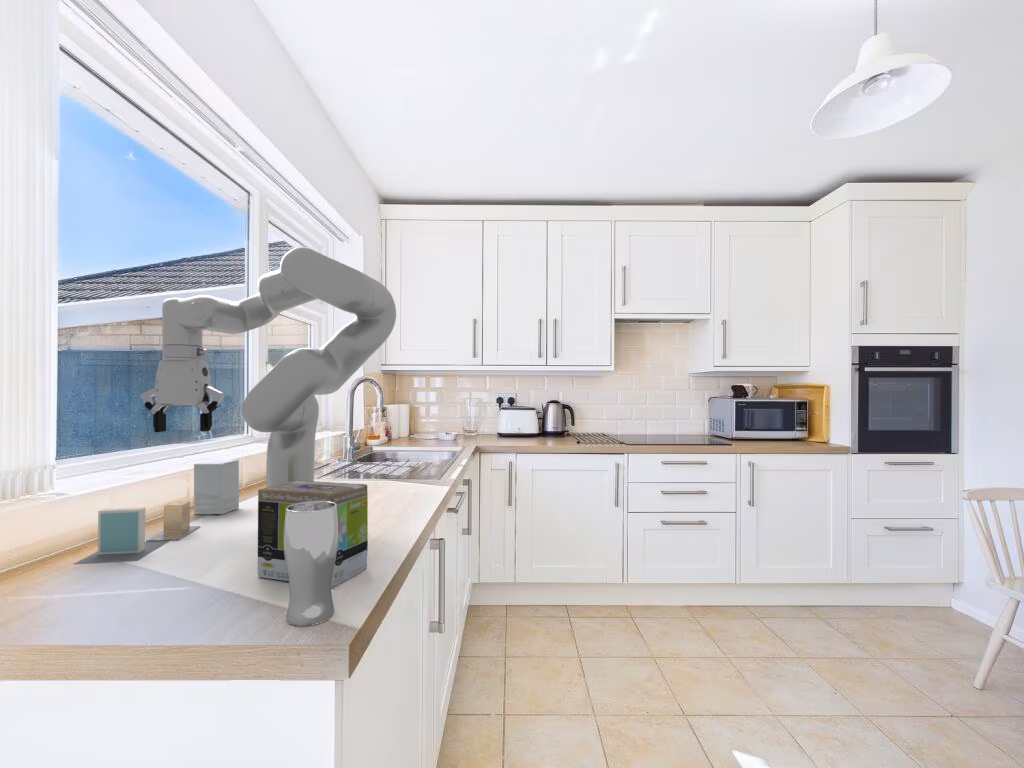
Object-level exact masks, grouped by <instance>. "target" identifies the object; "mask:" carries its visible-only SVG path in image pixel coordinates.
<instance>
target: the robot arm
mask: <svg viewBox="0 0 1024 768" xmlns="http://www.w3.org/2000/svg"><path fill="white" fill-rule="evenodd" d="M257 289H258V293H256V294H254V295H252V296H249V297H247V298H244V299H241V300H239V301H238V300H237V301H231V300H229V299H228V300H227V299H224V298H221V297H216V296H212V295H207V294H206V295H205V294H201V295H199V294H198V295H194V296H191V297H186V298H183V297H171V298H166V299H165V300H163V302H162V309H161V312H162V313H161V315H162V317H161V319H162V321H161V322H162V323H161V324H162V329H161V330H162V331H161V333H162V334H161V336H162V340H161V341H162V347H161V348H162V349H161V350H162V351H161V353H162V354H161V355H162V356H161V357H162V358H161V360H159V362H158V366H157V368H156V369H157V370H156V376H155V385H154V387H153V388H151V389H149V390H147V391H144V392H143V393H141V394H140V398H141V400H142V402H143V403H144V407H145V408H146V409H147V410H148V411H149V413H150V414H151V415H153V416H152V417H153V418H152V423H153V425H152V426H153V427H152V428H153V431H154V433H163V432H166V431H167V414H166V413H164V412H165V411H166V410H167V408H168V407H169V406H195V405H196V406H197V407H198V408H199V410H200V411H202V413H199V431H200V432H201V433H202V432H203V433H205V432H209V431H211V430H212V426H213V413H215V410H216V409H218V408H219V406H221V403H222V401H223V400H224V397H225V393H223V392H222V391H220V390H218V389H215V388H214V387H212V384H211V375H210V370H209V369H210V368H209V366H208V362H207V361H206V360H203V359H204V356H208V355H209V349H205V348H204V346H203V331H209V332H215V333H216V332H217V333H221V334H222V333H223V334H228V335H237V334H238V335H239V334H242V333H246V332H249V331H252V330H255V329H258V328H262V327H263V326H265V325H268V324H270V323H271V322H272V321H273V320H275V319H276V318H277V317H278V316H279V315H280V314H281V313H283V312H284V311H287V310H289V309H293V308H295V307H298V306H300V305H301V306H302V305H304V304H306V303H310V302H312V301H315V300H319V301H322V302H324V303H326V304H329V305H330V306H332V307H334V308H337V309H339V310H341V311H343V312H347V313H349V314H353V315H355V317H354V318H353V319H352V320H351V321H350V322H348V323H347V324H345V325H344V326H342V327H341V328H339V330H337V331H336V332H335V333H334V335H333V336H332V337H331V338H329V340H327V342H326V343H324V344H323V345H322V346H320V347H319V348H314V347H313V348H312V347H302V348H301V347H300V348H297V349H294V350H292V351H291V352H289V353H287V354H286V355H284V356H283V357H282V358H281V359H280V360H278V362H277V363H276V364H274V366H273V367H272V368H271V369H269V371H268V372H267V373H266V374H265V375H264V376H263V377H262V378H260V380H259V381H258V382H257V383H256V384H255V385H254V386H253V387H252V389H251V390H250V391H249V392H248V394H247V395H246V397H245V398H244V401H243V405H242V410H241V411H242V417H243V419H244V420H243V421H244V423H246V425H247V426H248V427H249V428H251V429H252V430H254V431H257V432H260V433H269V438H268V441H267V449H266V469H265V470H266V474H265V475H266V477H265V478H266V479H265V480H266V481H265V482H266V483H265V484H266V486H265V488H268V487H272V486H277V485H281V484H286V483H290V482H295V481H315V450H316V449H315V447H316V446H315V445H316V434H317V433H316V432H317V427H318V422H319V416H320V415H319V414H320V407H319V402H318V400H317V398H316V396H318V395H319V396H323V395H329V394H330V395H331V394H333V393H335V392H337V391H338V390H340V389H341V388H342V386H343V385H344V384H346V382H347V381H349V380H350V379H351V378H352V376H353V375H354V374H355V373H356V372H357V371H359V369H360V368H361V367H362V366H363V365H364V364H365V363H366V362H367V361H368V360H369V358H370V357H372V355H373V354H374V353H376V352H377V351H378V350H379V349H380V348H381V346H382V345H384V343H385V342H386V341H387V340H388V338H389V337H390V335H391V334H392V332H393V330H394V327H395V324H396V322H397V321H396V320H397V319H396V318H397V309H396V308H397V307H396V304H395V303H396V302H395V301H394V297H393V296H392V294H391V292H390V291H389V290H388V288H387V287H386V286H385V285H384V284H382V282H380V281H378V280H376V279H375V278H372V277H371V276H369V275H367V274H365V273H364V272H361V271H360V270H357V269H355V268H353V267H351V266H348V265H347V264H344V263H342V262H340V261H338V260H336V259H333V258H332V257H328V256H327V255H324V254H322V253H320V252H318V251H316V250H315V249H313V248H310V247H306V246H299V247H295V248H292V249H290V250H288V251H287V252H286V253H285V254H284V255H283V257H282V258H281V260H280V264H279V269H277V270H276V269H275V270H272V271H270V272H266V273H265V274H262V275H261V276H260V277H259V279H258V281H257ZM212 396H213V400H212ZM153 397H154V399H155V401H153Z"/></svg>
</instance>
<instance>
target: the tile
mask: <svg viewBox="0 0 1024 768" xmlns="http://www.w3.org/2000/svg"><path fill="white" fill-rule="evenodd" d="M145 542H146V507H126V508H125V507H124V508H119V507H118V508H103V509H100V510H98V514H97V552H98V555H101V554H121V553H140V552H142V551H144V550H145Z"/></svg>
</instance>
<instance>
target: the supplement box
mask: <svg viewBox="0 0 1024 768" xmlns="http://www.w3.org/2000/svg"><path fill="white" fill-rule="evenodd" d="M239 463H240V461H239V459H210V460H205V461H202V462H201V461H200V462H196V463H194V464H193V514H194V515H212V514H219V516H220V514H221V515H225V514H227V513H229V511H230V512H233V511H236V510H238V509H239V507H240V504H239V503H240V501H239V500H240V493H239V492H240V490H239V489H240V487H239V486H240V482H239V481H240V479H239V478H240V476H239V474H240V470H239V469H240V466H239ZM235 509H236V510H235ZM232 510H233V511H232Z"/></svg>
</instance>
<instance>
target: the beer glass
mask: <svg viewBox="0 0 1024 768" xmlns="http://www.w3.org/2000/svg"><path fill="white" fill-rule="evenodd" d="M285 509H286V512H285V522H284V537H283V544H284V556H285V563H286V569H287V574H288V580H289V581H288V585H289V601H288V607H287V612H286V618H285V619H286V622H287V623H288V624H289V623H290V624H289V625H291V624H293V625H292V626H294V625H305V626H304V627H307V626H306V625H311V626H313V625H312V624H316V623H320V622H322V623H324V622H323V621H325V620H327V619H329V618H330V619H331V618H332V617H333V616H334V614H335V606H334V602H333V596H332V588H331V585H332V577H333V571H334V566H335V560H336V555H337V547H338V516H337V504H336V503H335V502H331V501H307V502H300V503H295V504H292V505H289V506H287V507H286V508H285ZM330 619H329V620H330ZM327 621H328V620H327ZM325 622H326V621H325ZM320 624H321V623H320ZM316 625H317V624H316Z"/></svg>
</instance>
